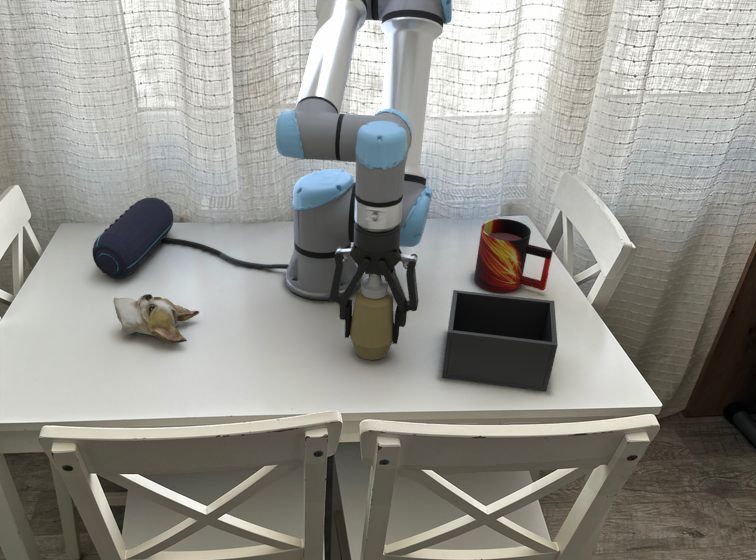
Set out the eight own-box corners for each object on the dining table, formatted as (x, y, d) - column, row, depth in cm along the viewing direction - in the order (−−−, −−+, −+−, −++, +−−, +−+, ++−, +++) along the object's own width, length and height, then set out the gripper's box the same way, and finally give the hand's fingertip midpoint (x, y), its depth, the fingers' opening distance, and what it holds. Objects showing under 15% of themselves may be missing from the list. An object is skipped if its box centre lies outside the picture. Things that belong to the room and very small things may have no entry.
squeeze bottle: (348, 337, 134) (350, 253, 124) (392, 337, 134) (397, 253, 123) (349, 364, 128) (351, 278, 117) (394, 364, 128) (401, 278, 117)
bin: (441, 377, 125) (447, 332, 119) (447, 333, 136) (453, 289, 130) (546, 391, 122) (557, 345, 116) (544, 345, 133) (554, 300, 127)
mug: (544, 295, 146) (556, 243, 139) (475, 292, 148) (483, 239, 140) (538, 271, 154) (548, 220, 147) (472, 268, 155) (479, 217, 148)
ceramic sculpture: (122, 275, 137) (198, 284, 136) (127, 313, 142) (200, 322, 141) (102, 306, 129) (183, 316, 128) (107, 345, 134) (186, 354, 133)
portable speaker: (142, 228, 172) (135, 189, 166) (180, 233, 170) (175, 194, 164) (89, 281, 153) (80, 239, 147) (132, 287, 151) (124, 245, 145)
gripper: (309, 226, 115) (310, 341, 128) (440, 239, 111) (427, 356, 124) (319, 206, 120) (319, 318, 134) (444, 217, 116) (431, 331, 130)
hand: (371, 336), depth 129 cm, fingers closed on squeeze bottle, 8 cm apart
